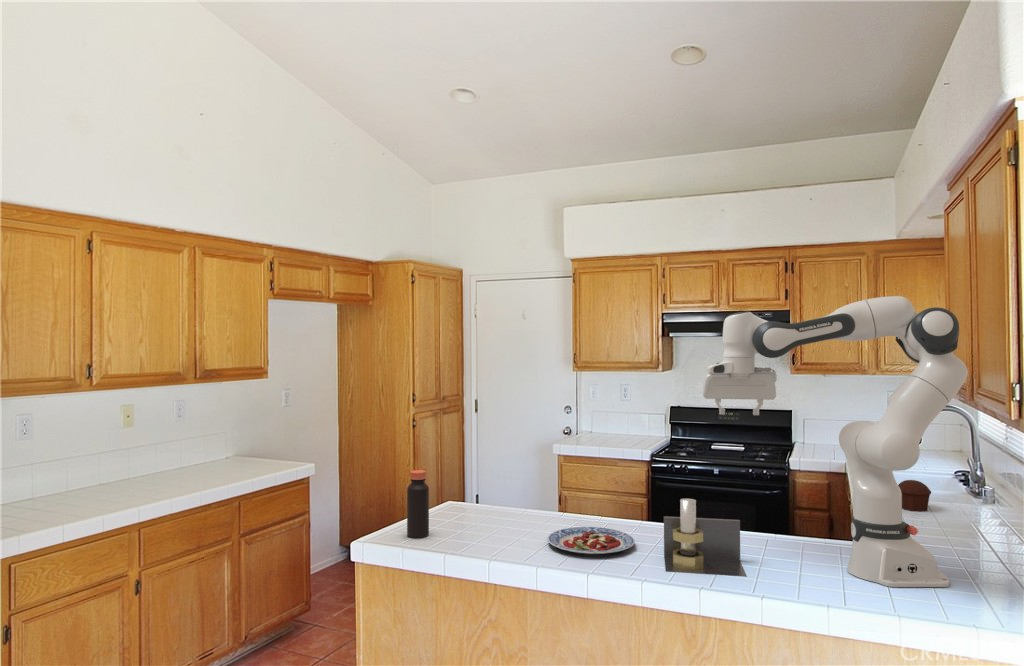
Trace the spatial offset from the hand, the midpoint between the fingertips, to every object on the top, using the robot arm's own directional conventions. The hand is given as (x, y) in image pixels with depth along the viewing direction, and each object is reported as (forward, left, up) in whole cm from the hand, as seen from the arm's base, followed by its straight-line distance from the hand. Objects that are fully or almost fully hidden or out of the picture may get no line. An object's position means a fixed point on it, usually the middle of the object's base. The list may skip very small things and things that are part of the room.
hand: (739, 414), depth 192 cm
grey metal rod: (+16, +20, -38) cm, 46 cm away
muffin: (-68, -61, -39) cm, 99 cm away
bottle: (+97, +4, -39) cm, 105 cm away
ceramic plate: (+43, +4, -40) cm, 59 cm away
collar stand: (+12, +20, -39) cm, 46 cm away
